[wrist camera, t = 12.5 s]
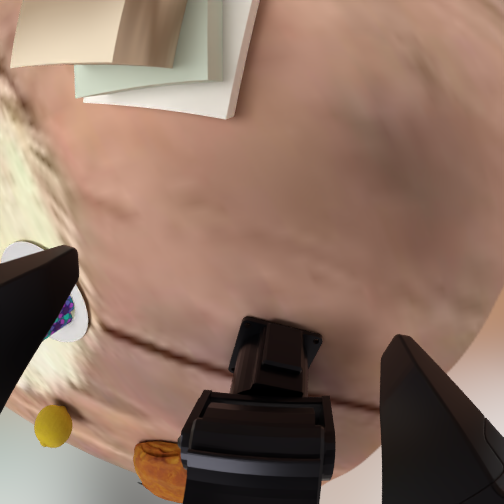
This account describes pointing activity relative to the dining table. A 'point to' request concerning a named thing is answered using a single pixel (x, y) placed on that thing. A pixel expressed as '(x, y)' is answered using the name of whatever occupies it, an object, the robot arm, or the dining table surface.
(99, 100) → the base block
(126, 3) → the birch cube
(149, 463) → the croissant
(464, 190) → the dining table surface
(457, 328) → the dining table surface
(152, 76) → the sage green block
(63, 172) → the dining table surface
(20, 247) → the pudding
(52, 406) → the lemon
